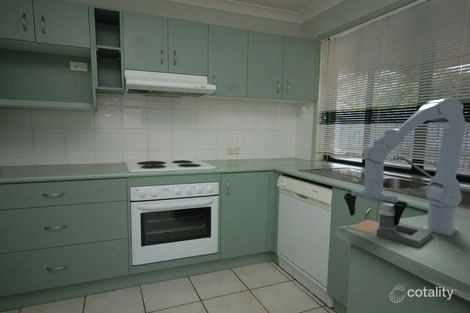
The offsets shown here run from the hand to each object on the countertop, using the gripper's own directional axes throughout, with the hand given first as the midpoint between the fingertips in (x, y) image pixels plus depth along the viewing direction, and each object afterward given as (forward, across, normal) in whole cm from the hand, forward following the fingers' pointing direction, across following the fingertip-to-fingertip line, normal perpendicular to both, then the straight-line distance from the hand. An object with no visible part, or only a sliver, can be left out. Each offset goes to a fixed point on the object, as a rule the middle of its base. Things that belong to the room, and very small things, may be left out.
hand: (372, 219), depth 99 cm
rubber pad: (+3, -1, 0) cm, 3 cm away
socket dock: (+3, +9, 0) cm, 9 cm away
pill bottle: (+3, +5, 0) cm, 6 cm away
